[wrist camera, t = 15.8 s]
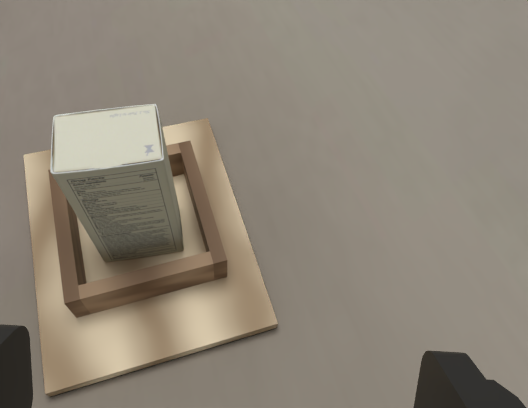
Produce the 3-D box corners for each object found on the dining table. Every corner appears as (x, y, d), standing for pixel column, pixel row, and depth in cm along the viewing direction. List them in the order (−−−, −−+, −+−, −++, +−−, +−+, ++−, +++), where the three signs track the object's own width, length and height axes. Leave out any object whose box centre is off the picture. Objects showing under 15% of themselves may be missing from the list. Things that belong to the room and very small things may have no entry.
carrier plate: (207, 125, 45) (206, 95, 42) (276, 327, 35) (281, 309, 32) (27, 161, 42) (9, 132, 38) (50, 396, 32) (28, 384, 29)
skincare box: (179, 205, 39) (161, 100, 29) (185, 254, 37) (168, 159, 26) (99, 215, 38) (51, 110, 28) (100, 266, 36) (48, 173, 26)
